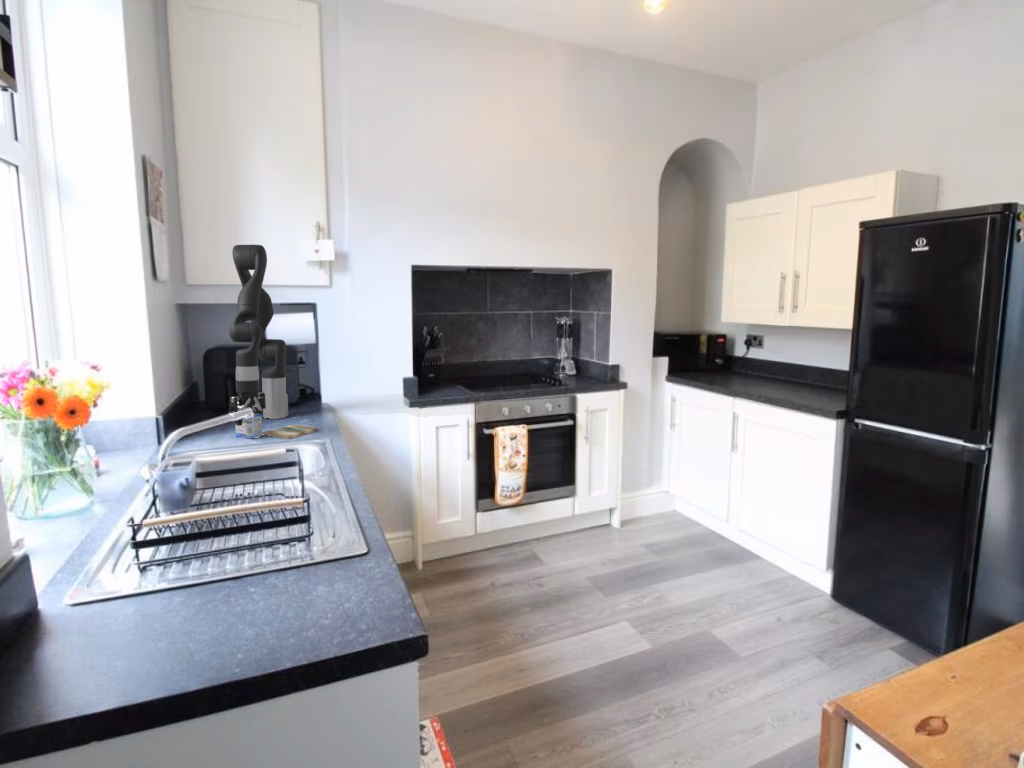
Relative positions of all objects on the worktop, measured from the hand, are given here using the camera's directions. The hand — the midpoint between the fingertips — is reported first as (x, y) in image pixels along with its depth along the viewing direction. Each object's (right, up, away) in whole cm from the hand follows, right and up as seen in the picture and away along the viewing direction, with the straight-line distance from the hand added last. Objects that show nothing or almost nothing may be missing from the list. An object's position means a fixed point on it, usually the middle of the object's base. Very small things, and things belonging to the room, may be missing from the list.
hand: (248, 423), depth 200 cm
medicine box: (0, -5, +1) cm, 5 cm away
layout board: (+11, -4, +10) cm, 16 cm away
